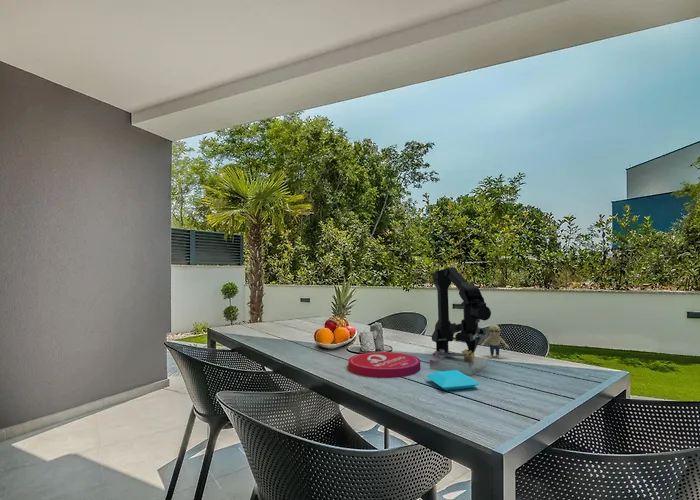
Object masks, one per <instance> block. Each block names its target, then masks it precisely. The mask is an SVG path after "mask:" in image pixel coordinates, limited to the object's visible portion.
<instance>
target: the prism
mask: <svg viewBox="0 0 700 500" xmlns="http://www.w3.org/2000/svg"><path fill="white" fill-rule="evenodd" d="M425 377H426V378H427V379H429V380H430V381H432V382H433V383H434V384H435V385H437V386H439V387H441V388H442V389H443V390H445V391H450V390H451V391H454V390H455V391H456V390H464V389H465V388H466V389H471V388H474V387H476V386H479V385H480V383H479V382H478V381H476V380H475V379H473V378H472V377H470V376H469V375H465V374H463V373H461V372H459V371H457V370H452V371H442V370H439V371H434V372H431V373H430V374H427V375H425Z"/></svg>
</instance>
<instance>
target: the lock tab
mask: <svg viewBox="0 0 700 500" xmlns="http://www.w3.org/2000/svg"><path fill="white" fill-rule="evenodd" d="M461 353H462V354H467V355H468V354H469V356H467V357H464V359H468V360H474V357H475V352H471V350H468V349H464V350H462V351H461Z"/></svg>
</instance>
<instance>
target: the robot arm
mask: <svg viewBox="0 0 700 500" xmlns="http://www.w3.org/2000/svg"><path fill="white" fill-rule="evenodd" d="M432 279H433V285H434V286H435V288H436V290H437V315H438V316H437V318H438V320H437V322H436V323H435V325H434V331H433V332H432V334H431V342H434V343H435V348H436V349H435V351H439V352H440V350H439V349H443V350H444V352H449V351H450V350H449V347H450V346H449V342H453V340H454V339H455V341H461V342H464V343H465V344H466V345H467V350H471V352H474V353H475V352H476V349H477V348H478V345H479V343H480V341H481V339H482V337H479V336H478V335H482V336H487V330H486V329H485V327H479V323H481V322H480V321H488V320H489V319H490V318H491V315H492V312H491V308H489V306H487V303H486V302H485V299H484V297H483V294H482V292H481V290H480V288H479V287H477V286H476V284H473V283H470V282H469V281H468V280H467V279H465V278H464V276H463V275H462V274H461V273H460V272H459V271H458V268H457V267H453V266H451V267H445V268H443V269H442V268H441V269H438V270H435V271H434V272H433V273H432ZM451 284H453V286H455V287H456V288H457V289H458V295H459V297H460V299H461V300H462V302H461V304H460V305H461V306H462V307H463V308H462V309H463V311H462V312H463V319H462V320H461V321H460V323H457V324H456V323H455V322H453V323H452V322H451V320H450V314H449V313H450V311H449V306H450V305H449V288H450V286H451ZM454 335H455V336H454ZM433 355H435V352H433Z"/></svg>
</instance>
